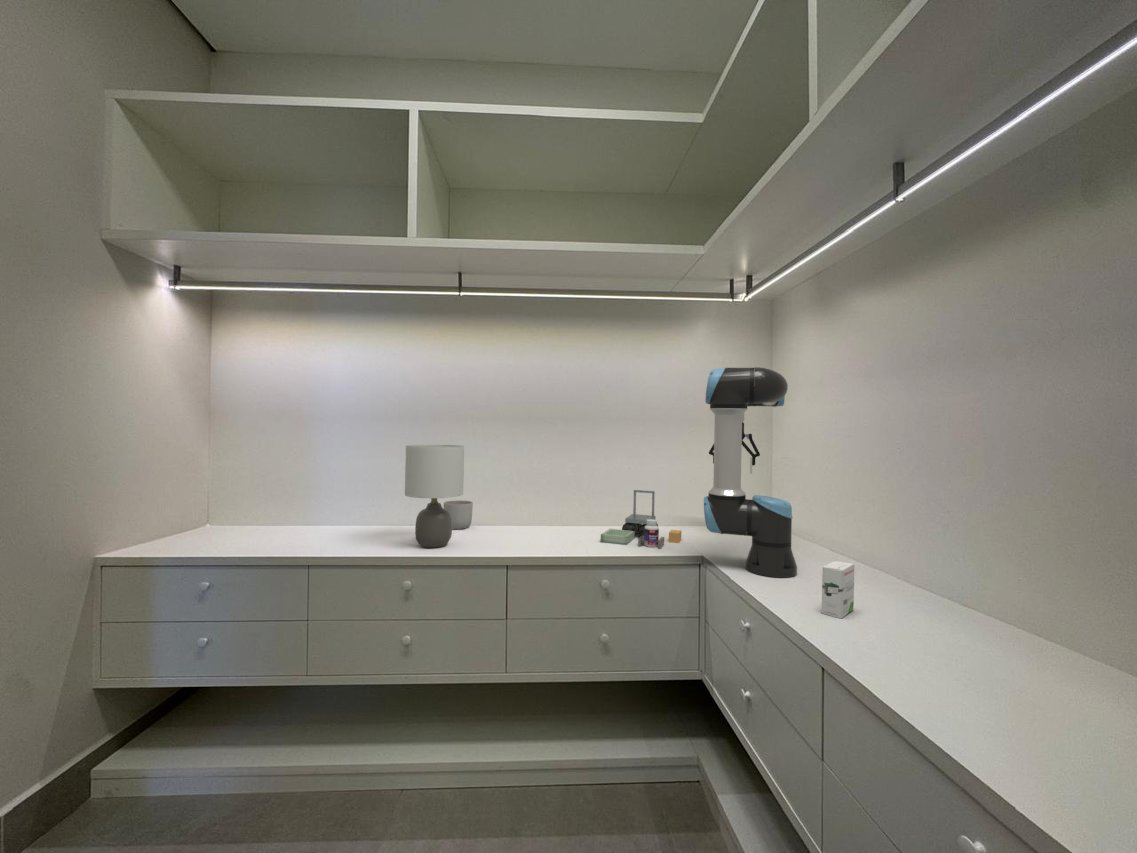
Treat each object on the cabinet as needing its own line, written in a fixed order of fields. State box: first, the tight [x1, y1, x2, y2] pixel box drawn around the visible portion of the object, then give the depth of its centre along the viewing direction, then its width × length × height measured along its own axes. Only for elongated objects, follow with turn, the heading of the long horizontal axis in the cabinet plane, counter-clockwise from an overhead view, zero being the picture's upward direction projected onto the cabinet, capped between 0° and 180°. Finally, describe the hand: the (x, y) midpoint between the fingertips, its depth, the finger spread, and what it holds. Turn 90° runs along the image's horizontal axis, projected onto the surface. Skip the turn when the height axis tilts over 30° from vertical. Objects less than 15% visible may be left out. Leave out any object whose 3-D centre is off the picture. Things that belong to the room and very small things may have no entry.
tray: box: [600, 528, 636, 546], centre depth 198 cm, size 12×10×3 cm
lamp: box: [404, 444, 465, 549], centre depth 183 cm, size 21×21×37 cm
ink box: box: [821, 560, 855, 619], centre depth 123 cm, size 9×5×12 cm, turn 133°
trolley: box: [621, 489, 659, 537], centre depth 208 cm, size 12×13×18 cm
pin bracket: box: [637, 535, 665, 550], centre depth 190 cm, size 7×8×3 cm
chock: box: [668, 529, 682, 544], centre depth 199 cm, size 6×4×4 cm, turn 159°
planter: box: [443, 499, 474, 530], centre depth 216 cm, size 12×12×11 cm
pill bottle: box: [643, 519, 660, 548], centre depth 190 cm, size 5×5×10 cm
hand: (733, 472), depth 208 cm, fingers open, 13 cm apart
